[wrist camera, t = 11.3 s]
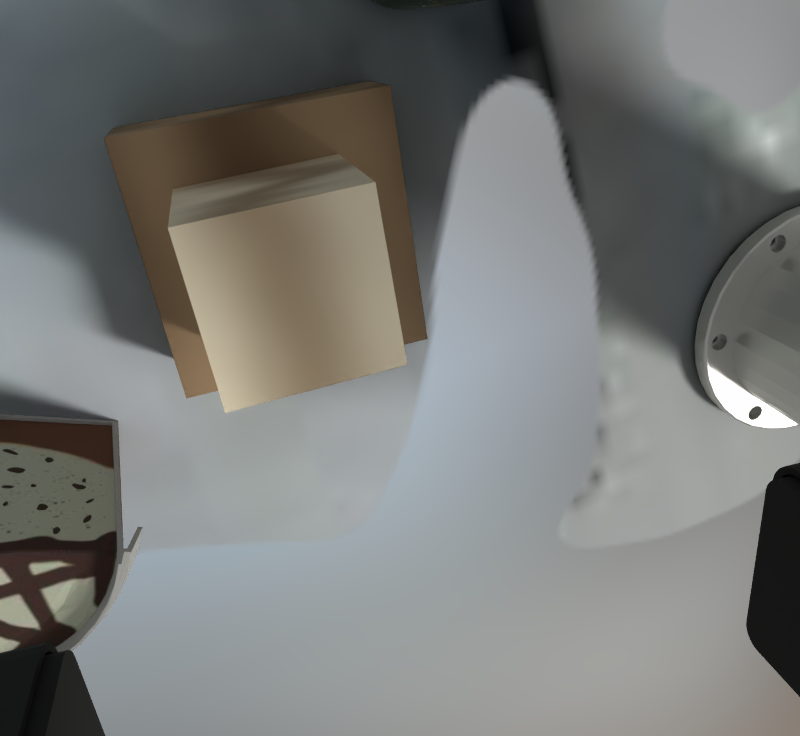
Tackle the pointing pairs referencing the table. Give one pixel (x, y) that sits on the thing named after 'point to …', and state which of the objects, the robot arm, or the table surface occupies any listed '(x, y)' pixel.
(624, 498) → the table surface
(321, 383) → the beech cube
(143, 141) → the pedestal
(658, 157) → the table surface
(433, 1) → the coffee jar
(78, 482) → the food container
